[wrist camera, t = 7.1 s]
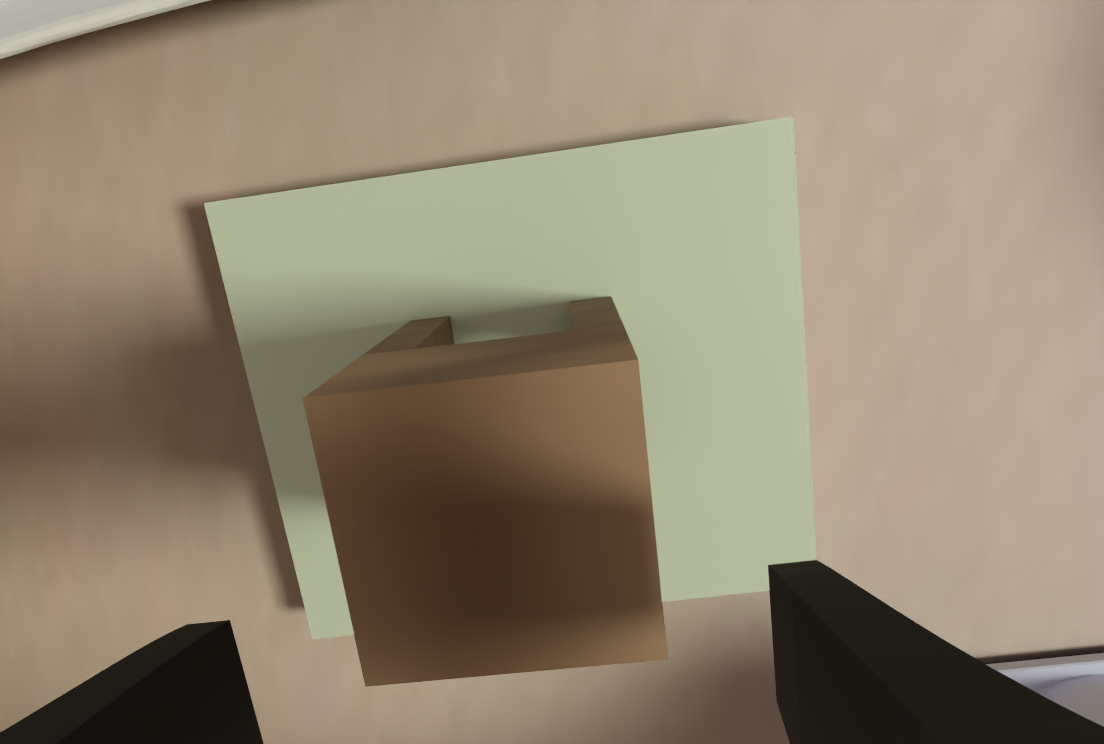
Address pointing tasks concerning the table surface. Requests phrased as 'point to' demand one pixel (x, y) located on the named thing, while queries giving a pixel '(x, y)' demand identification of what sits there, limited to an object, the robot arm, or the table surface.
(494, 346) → the walnut stool
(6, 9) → the salad plate
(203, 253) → the table surface
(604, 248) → the sage green board
